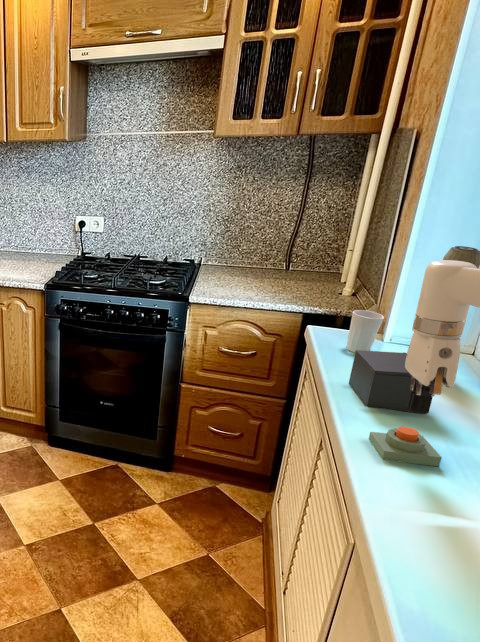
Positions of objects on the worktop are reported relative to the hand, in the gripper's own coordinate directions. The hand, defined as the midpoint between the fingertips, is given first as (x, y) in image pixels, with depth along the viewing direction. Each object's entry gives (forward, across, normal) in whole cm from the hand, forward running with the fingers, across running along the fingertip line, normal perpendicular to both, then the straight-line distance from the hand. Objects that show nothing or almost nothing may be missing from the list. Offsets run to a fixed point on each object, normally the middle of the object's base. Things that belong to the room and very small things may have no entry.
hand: (417, 410), depth 107 cm
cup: (+10, +62, -9) cm, 63 cm away
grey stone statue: (+10, +48, -21) cm, 54 cm away
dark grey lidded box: (+10, +28, -5) cm, 30 cm away
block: (+10, 0, +1) cm, 10 cm away
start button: (+7, 0, +1) cm, 7 cm away
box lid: (+1, +27, -6) cm, 28 cm away
